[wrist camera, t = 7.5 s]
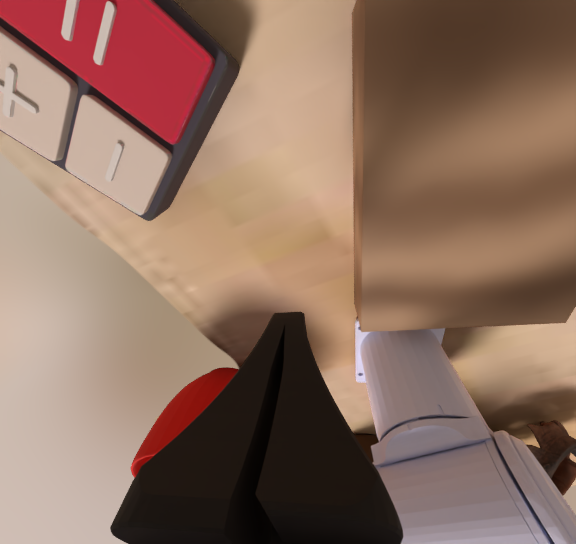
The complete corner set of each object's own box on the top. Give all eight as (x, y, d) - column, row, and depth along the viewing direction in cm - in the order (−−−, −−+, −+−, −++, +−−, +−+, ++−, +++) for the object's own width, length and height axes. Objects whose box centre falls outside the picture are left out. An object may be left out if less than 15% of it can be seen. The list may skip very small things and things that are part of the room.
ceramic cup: (173, 410, 35) (130, 502, 26) (188, 335, 26) (129, 437, 18) (258, 432, 36) (242, 526, 28) (299, 369, 28) (293, 478, 19)
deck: (527, 292, 20) (565, 322, 17) (354, 303, 22) (361, 332, 19) (692, -68, 10) (850, -147, 7) (352, 13, 12) (365, -22, 9)
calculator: (144, 228, 16) (-172, 38, 11) (172, 207, 20) (-58, 55, 15) (228, 55, 11) (-284, -434, 6) (245, 69, 14) (-68, -232, 10)
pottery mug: (454, 401, 29) (542, 465, 22) (506, 372, 32) (601, 421, 24) (452, 471, 33) (528, 548, 25) (499, 440, 35) (581, 502, 28)
